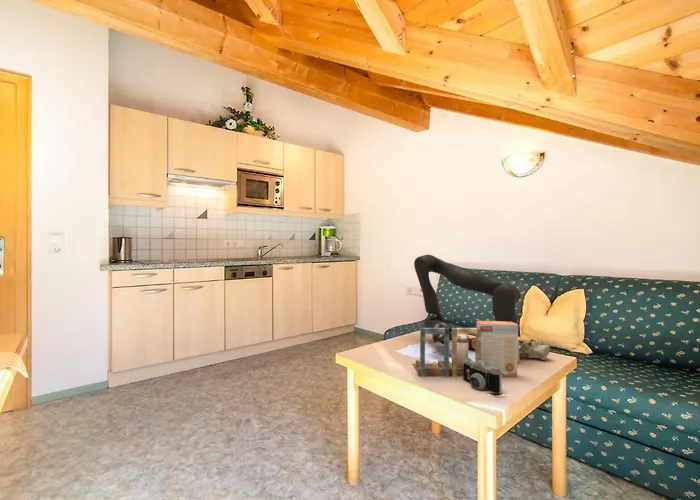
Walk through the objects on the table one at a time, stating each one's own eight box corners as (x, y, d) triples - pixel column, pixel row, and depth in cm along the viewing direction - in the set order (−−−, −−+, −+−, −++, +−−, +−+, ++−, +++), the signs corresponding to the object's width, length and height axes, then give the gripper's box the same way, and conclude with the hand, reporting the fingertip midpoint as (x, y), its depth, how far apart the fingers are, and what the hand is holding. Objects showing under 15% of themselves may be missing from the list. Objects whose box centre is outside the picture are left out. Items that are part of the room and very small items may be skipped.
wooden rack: (469, 366, 142) (470, 320, 142) (482, 379, 128) (483, 329, 128) (412, 365, 142) (412, 320, 142) (418, 379, 128) (419, 328, 128)
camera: (455, 383, 124) (455, 356, 124) (467, 379, 128) (468, 353, 128) (491, 399, 112) (491, 369, 111) (504, 394, 115) (504, 365, 115)
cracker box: (511, 374, 133) (513, 321, 133) (517, 380, 127) (519, 324, 127) (474, 372, 135) (476, 319, 134) (479, 378, 129) (480, 323, 128)
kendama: (495, 350, 168) (457, 343, 171) (497, 338, 167) (459, 331, 170) (499, 358, 161) (459, 350, 163) (501, 345, 159) (461, 338, 162)
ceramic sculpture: (549, 343, 144) (510, 340, 152) (550, 364, 144) (511, 360, 152) (550, 338, 153) (513, 335, 161) (551, 357, 153) (514, 353, 161)
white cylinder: (465, 368, 137) (465, 333, 136) (470, 373, 131) (470, 337, 131) (453, 368, 137) (453, 333, 136) (457, 373, 132) (457, 337, 131)
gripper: (428, 324, 160) (436, 333, 144) (458, 324, 160) (470, 333, 144) (428, 340, 160) (436, 351, 144) (458, 340, 160) (470, 351, 144)
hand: (453, 342), depth 144 cm, fingers open, 8 cm apart
